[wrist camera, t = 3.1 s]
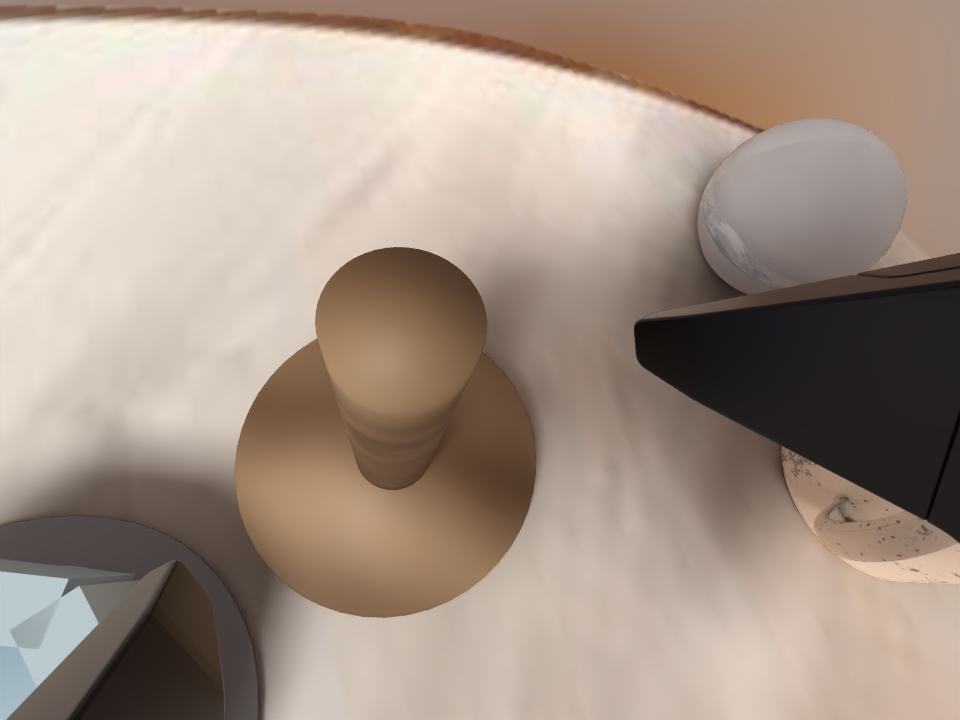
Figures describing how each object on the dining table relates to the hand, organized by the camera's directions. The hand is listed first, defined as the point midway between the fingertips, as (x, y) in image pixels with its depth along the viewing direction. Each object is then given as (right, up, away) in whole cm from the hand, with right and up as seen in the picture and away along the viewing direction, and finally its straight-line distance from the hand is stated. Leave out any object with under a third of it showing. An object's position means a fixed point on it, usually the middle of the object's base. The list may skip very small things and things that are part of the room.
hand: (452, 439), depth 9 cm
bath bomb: (+14, +7, +17) cm, 23 cm away
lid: (-3, -2, +10) cm, 11 cm away
